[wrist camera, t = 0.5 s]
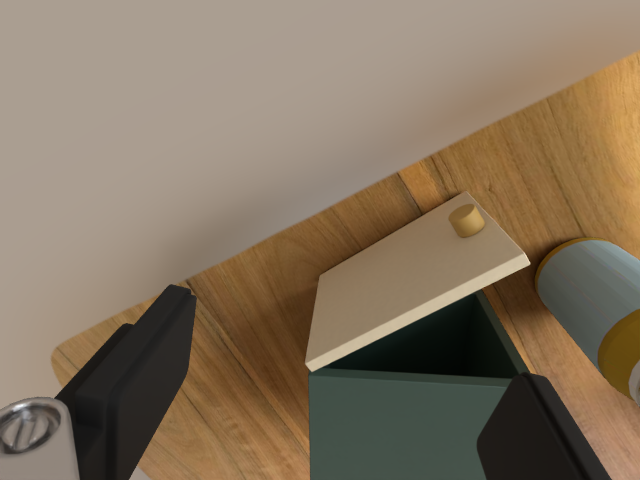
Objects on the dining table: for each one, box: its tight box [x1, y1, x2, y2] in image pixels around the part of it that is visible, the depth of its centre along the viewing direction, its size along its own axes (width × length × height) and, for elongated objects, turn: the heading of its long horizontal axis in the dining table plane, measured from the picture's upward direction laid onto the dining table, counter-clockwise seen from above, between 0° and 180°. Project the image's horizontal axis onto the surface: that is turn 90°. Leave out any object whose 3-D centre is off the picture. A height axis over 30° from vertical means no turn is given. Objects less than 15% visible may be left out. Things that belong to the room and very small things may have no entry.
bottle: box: [535, 237, 640, 407], centre depth 25 cm, size 7×7×15 cm
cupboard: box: [308, 289, 530, 480], centre depth 31 cm, size 10×14×12 cm
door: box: [305, 191, 530, 372], centre depth 27 cm, size 2×14×11 cm, turn 125°
